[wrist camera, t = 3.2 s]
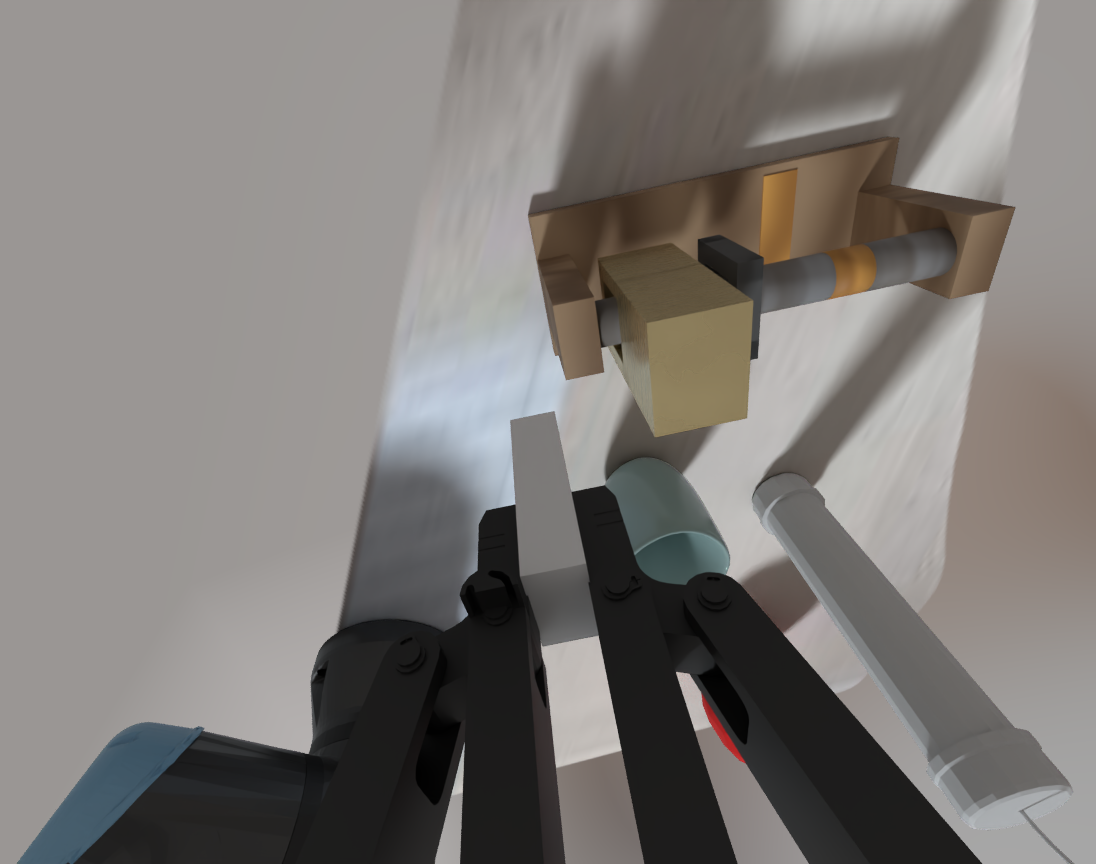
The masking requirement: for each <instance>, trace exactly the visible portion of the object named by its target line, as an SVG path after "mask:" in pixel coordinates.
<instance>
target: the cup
mask: <svg viewBox="0 0 1096 864" xmlns="http://www.w3.org/2000/svg"><path fill="white" fill-rule="evenodd" d="M605 486H606V487H607V488H608V489H609V490H610V491H611V492H612V493H613V494H614V495H615V496H616V498H617V502H618V505H619V508H620V512H621V514H622V517H623V521H624V523H625V527H626V530H627V533H628V536H629V539H630V542H631V545H632V548H633V552H634V555H635V558H636V561H637V563H638V565H639V567H640V569H641V570H642V571H643V572H644V573H645V574H646V575H648V576H649V577H651V578H652V579H655V580H657V581H660V582H665V583H672V584H683V585H686V584H687V582H688V580H690V579H691V578H692V577H694V576H695V575H697V574H701V573H705V572H716V573H721V574H724V575H726V573H727V571H728V568H729V566H730V555H729V551H728V547H727V545H726V543H725V541H724V539H723V537H722V535H721V533H720V532H719V530H718V528H717V526H716V524H715V523H714V521H713V519H712V517H711V515H710V514H709V512H708V510H707V509H706V507H705V505H704V503H703V502H702V500H701V498H700V497H699V495H698V494H697V492H696V491H695V489H694V488H693V486H692V485H691V484H690V483H689V481H688V480H687V479H686V478H685V477H684V476H683V475H682V474H681V473H680V472H679V471H678V470H677V469H676V468H674V467H673V466H672V465H670V464H669V463H667V462H665V461H662V460H660V459H656V458H652V457H642V458H637V459H634V460H631V461H629V462H627V463H625V464H623V465H622V466H620V467H619V468H618V469H616V470H615V471H614V472H613V473H612V474H611V476H610V477H609V478H608V480H607V481H606V483H605Z"/></svg>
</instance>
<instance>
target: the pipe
mask: <svg viewBox="0 0 1096 864" xmlns="http://www.w3.org/2000/svg"><path fill="white" fill-rule="evenodd" d="M752 503H753V510H754V511H755V513H756V514H757V516H758V517H759V519H760V523H761V525H762V526H763V528H764V529H765V530H766V531H767V532H768V533H769V534H772V535H775V537H776V538H777V540H778V541H779V543H780V544H781V545H782V547H783V548H784V550H785V551H786V553H787V554H788V556H789V557H790V559H791V560H792V562H793V563H794V565H795V566H796V568H797V569H798V570H799V572H800V573H801V575H802V576H803V578H804V579H805V581H806V582H807V584H808V585H809V587H810V588H811V590H812V591H813V593H814V594H815V595H816V597H817V598H818V600H819V601H820V603H821V604H822V606H823V607H824V609H825V610H826V612H827V613H828V615H829V616H830V618H831V619H832V620H833V622H834V623H835V625H836V626H837V628H838V629H839V631H840V632H841V634H842V635H843V637H844V638H845V640H846V641H847V642H848V644H849V645H850V647H851V648H852V650H853V651H854V653H855V654H856V656H857V657H858V659H859V660H860V662H861V663H862V665H863V666H864V667H865V669H866V670H867V672H868V673H869V675H870V676H871V678H872V679H873V681H874V682H875V684H876V685H877V687H878V688H879V689H880V691H881V692H882V694H883V695H884V697H885V698H886V700H887V701H888V703H889V704H890V705H891V707H892V708H893V710H894V712H895V713H896V714H897V716H898V717H899V719H900V720H901V722H902V723H903V725H904V726H905V728H906V729H907V731H908V732H909V733H910V735H911V737H912V738H913V739H914V741H915V742H916V743H917V745H918V747H919V748H920V750H921V751H922V753H923V754H924V756H925V757H926V758H927V760H928V762H929V764H928V767H927V771H926V772H927V774H928V775H929V777H930V778H931V780H932V781H933V783H934V784H935V785H937V786H938V787H939V788H940V789H941V790H942V791H943V793H944V794H945V796H946V797H947V799H948V800H949V802H950V803H951V805H952V806H953V808H954V809H955V811H956V812H957V814H958V815H959V817H960V818H961V819H962V820H963V821H964V822H965V823H966V824H967V825H968V826H970V827H971V828H972V829H982V830H994V829H1002V828H1007V827H1011V826H1016V825H1020V824H1023V823H1026V822H1028V823H1029V824H1030V825H1031V826H1032V828H1033V829H1034V830H1035V831H1036V832H1037V833H1038V834H1039V835H1040V836H1041V838H1042V839H1043V840H1044V841H1045V842H1046V843H1047V844H1048V845H1049V846H1050V847H1051V848H1052V849H1053V850H1054V851H1055V852H1056V853H1057V854H1058V855H1059V856H1060V857H1061V858H1062V859H1063V860H1064V861H1065V862H1066V863H1068V864H1074V863H1073V862H1072V861H1071V860H1070V859H1069V858H1068V857H1066V856H1065V855H1064V854H1063V853H1062V852H1061V851H1060V850H1059V849H1058V848H1057V847H1056V846H1055V845H1054V844H1053V843H1052V842H1051V841H1050V840H1049V839H1048V838H1047V837H1046V836H1045V834H1044V833H1043V832H1042V831H1041V830H1040V829H1039V828H1038V827H1037V826H1036V825H1035V823H1034V822H1033V821H1032V820H1034V819H1037V818H1040V817H1042V816H1044V815H1046V814H1048V813H1050V812H1052V811H1054V810H1056V809H1057V808H1059V807H1060V806H1062V805H1063V804H1065V803H1066V802H1067V801H1068V799H1069V798H1070V796H1071V795H1072V793H1073V790H1072V787H1071V785H1070V783H1069V782H1068V780H1067V779H1066V778H1065V777H1064V776H1063V774H1062V773H1061V772H1060V771H1059V770H1058V769H1057V767H1056V766H1055V765H1054V764H1053V763H1052V762H1051V761H1050V760H1049V758H1048V757H1047V756H1046V755H1045V754H1044V753H1043V752H1042V750H1041V749H1042V748H1041V746H1040V744H1039V743H1038V742H1037V740H1036V739H1035V738H1034V737H1033V736H1032V734H1031V733H1030V732H1029V731H1027V730H1023V729H1017V728H1015V727H1014V726H1013V725H1012V724H1011V723H1010V722H1009V721H1008V719H1007V718H1006V717H1005V716H1004V715H1003V714H1002V712H1001V711H1000V710H999V709H998V708H997V707H996V705H995V704H994V703H993V702H992V701H991V699H990V698H989V697H988V696H987V695H986V694H985V692H984V691H983V690H982V689H981V688H980V687H979V686H978V684H977V683H976V682H975V681H974V680H973V679H972V677H971V676H970V675H969V674H968V673H967V672H966V670H965V669H964V668H963V667H962V666H961V665H960V663H959V662H958V661H957V660H956V659H955V658H954V656H953V655H952V654H951V653H950V652H949V651H948V649H947V648H946V647H945V646H944V645H943V644H942V642H941V641H940V640H939V639H938V638H937V637H936V635H935V634H934V633H933V632H932V631H931V630H930V628H929V627H928V626H927V625H926V624H925V623H924V621H923V620H922V619H921V618H920V617H919V616H918V614H917V613H916V612H915V611H914V610H913V609H912V607H911V606H910V605H909V604H908V603H907V602H906V600H905V599H904V598H903V597H902V596H901V595H900V593H899V592H898V591H897V590H896V589H895V588H894V586H893V585H892V584H891V583H890V582H889V581H888V579H887V578H886V577H885V576H884V575H883V574H882V572H881V571H880V570H879V569H878V568H877V567H876V565H875V564H874V563H873V562H872V561H871V560H870V558H869V557H868V556H867V555H866V554H865V553H864V551H863V550H862V549H861V548H860V547H859V546H858V544H857V543H856V542H855V541H854V540H853V539H852V537H851V536H850V535H849V534H848V533H847V532H846V530H845V529H844V528H843V527H842V526H841V525H840V523H839V522H838V521H837V520H836V519H835V518H834V516H833V515H832V514H831V513H830V512H829V511H828V509H827V508H826V507H825V499H824V498H823V496H822V495H821V494H820V492H819V491H818V490H817V489H816V488H814V487H812V486H811V485H810V483H809V482H808V481H807V480H806V479H805V478H804V477H802V476H799V475H797V474H794V473H783V474H780V475H777V476H773V477H771V478H770V479H768V480H767V481H765V482H763V483H762V484H761V485H760V487H759V488H758V489H757V490H756V491H755V494H754V496H753V499H752Z"/></svg>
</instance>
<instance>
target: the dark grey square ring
mask: <svg viewBox="0 0 1096 864" xmlns="http://www.w3.org/2000/svg"><path fill="white" fill-rule="evenodd" d="M698 262H699V263H701V264H702V265H704V266H705V267H707V268H708V269H709V270H711V271H712V272H714V273H715V274H716V275H718V274H721V275H723V276H724V277H726V278H727V279H728V283H729V284H731V285H732V286H733V287H735V288H736V289H738V290H739V291H741V292H742V293H743V294H745V295H746V296H748V297H749V298H750V299H752V300H753V318H752V337H751V355H750V360H752V359H757V358H758V346H759V330H760V314H761V298H762V282H763V267H764V257H762V256H760V255H758V254H756V253H754V252H752V251H750V250H749V249H747V248H745V247H743V246H741V245H739V244H737V243H735V242H733V241H731V240H729V239H728V238H726V237H724V236H722V235H720V234H719V235H715V236H710V237H705V238H701V239H698Z"/></svg>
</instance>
